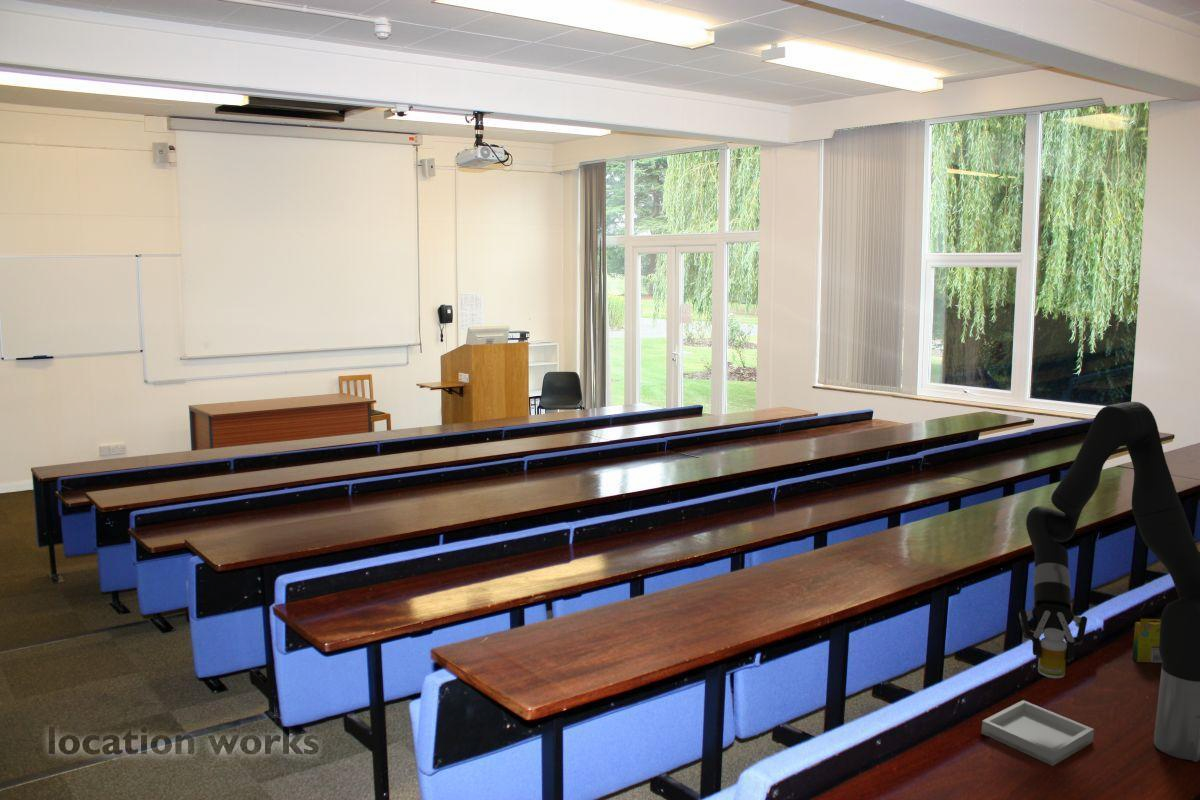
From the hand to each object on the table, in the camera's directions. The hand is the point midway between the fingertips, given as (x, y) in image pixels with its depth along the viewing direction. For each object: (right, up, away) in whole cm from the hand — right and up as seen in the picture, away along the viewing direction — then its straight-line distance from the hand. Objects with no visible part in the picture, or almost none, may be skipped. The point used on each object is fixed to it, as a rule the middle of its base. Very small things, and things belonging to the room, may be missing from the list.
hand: (1053, 658), depth 206 cm
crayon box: (+42, -10, +36) cm, 56 cm away
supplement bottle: (+1, -4, +2) cm, 5 cm away
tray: (-5, -16, -2) cm, 17 cm away
